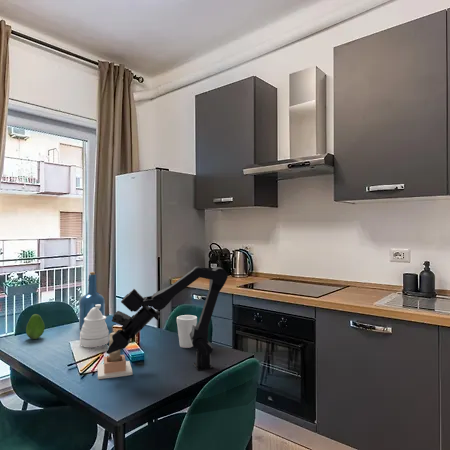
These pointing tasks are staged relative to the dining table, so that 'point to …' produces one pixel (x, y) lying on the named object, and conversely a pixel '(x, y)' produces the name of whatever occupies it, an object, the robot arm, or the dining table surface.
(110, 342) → the tan wooden cylinder
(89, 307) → the wine bottle
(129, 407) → the dining table surface
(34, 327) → the fruit
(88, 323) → the honey pot
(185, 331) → the foam cup
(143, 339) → the dining table surface
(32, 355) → the dining table surface
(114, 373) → the tan box on base
